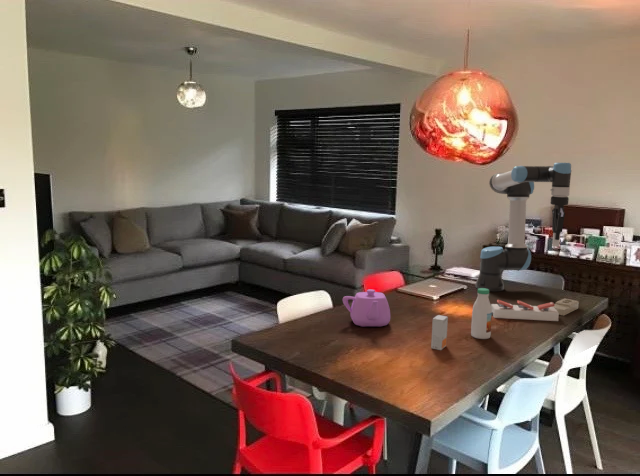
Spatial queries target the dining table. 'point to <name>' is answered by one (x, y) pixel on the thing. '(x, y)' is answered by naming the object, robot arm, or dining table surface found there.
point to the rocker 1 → (505, 303)
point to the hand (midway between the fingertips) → (555, 246)
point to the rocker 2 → (525, 304)
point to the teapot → (368, 308)
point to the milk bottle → (481, 315)
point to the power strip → (524, 312)
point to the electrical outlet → (566, 306)
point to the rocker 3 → (545, 305)
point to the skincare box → (439, 332)
